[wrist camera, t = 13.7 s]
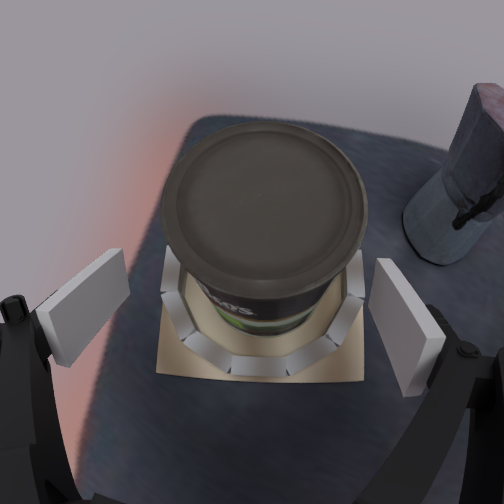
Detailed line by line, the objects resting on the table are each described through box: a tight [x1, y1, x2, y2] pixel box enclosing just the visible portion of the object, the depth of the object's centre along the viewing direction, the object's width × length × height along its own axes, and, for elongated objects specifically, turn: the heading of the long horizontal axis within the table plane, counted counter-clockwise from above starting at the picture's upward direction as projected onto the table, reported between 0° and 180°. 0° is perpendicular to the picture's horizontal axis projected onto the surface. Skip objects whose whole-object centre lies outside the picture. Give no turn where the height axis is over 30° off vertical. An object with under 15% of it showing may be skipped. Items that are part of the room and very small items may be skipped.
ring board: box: [156, 245, 365, 383], centre depth 27 cm, size 18×18×4 cm
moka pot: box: [403, 83, 504, 265], centre depth 21 cm, size 10×15×20 cm, turn 140°
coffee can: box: [160, 121, 368, 338], centre depth 21 cm, size 10×10×14 cm
